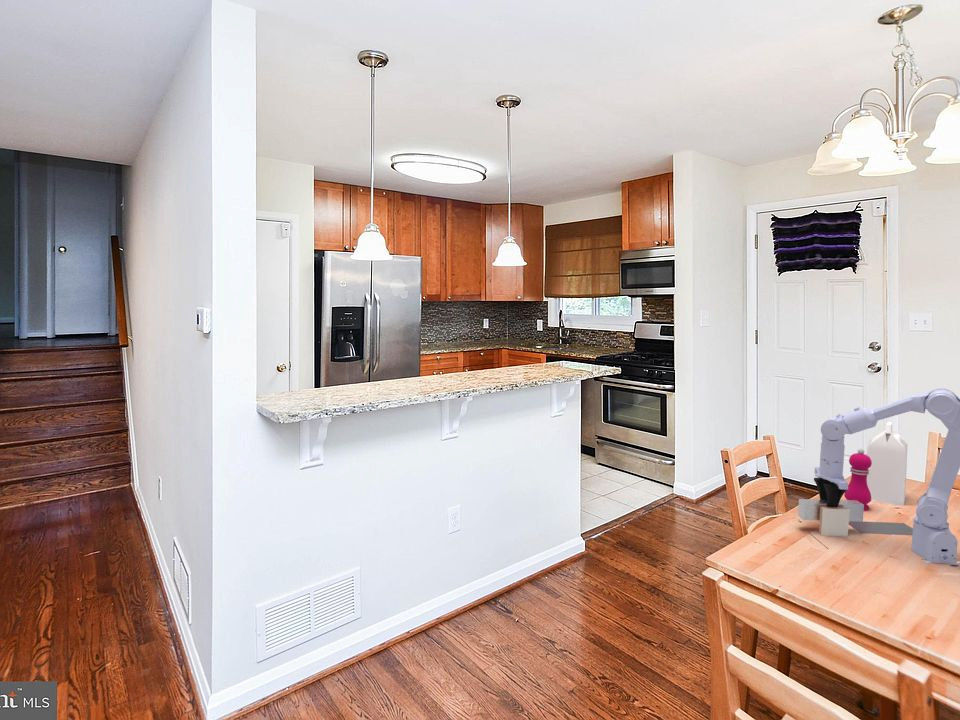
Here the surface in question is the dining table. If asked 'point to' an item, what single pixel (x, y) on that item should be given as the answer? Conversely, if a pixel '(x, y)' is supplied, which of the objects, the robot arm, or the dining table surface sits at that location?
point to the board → (882, 528)
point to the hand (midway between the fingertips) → (828, 505)
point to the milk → (887, 467)
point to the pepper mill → (859, 479)
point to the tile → (834, 521)
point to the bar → (811, 507)
